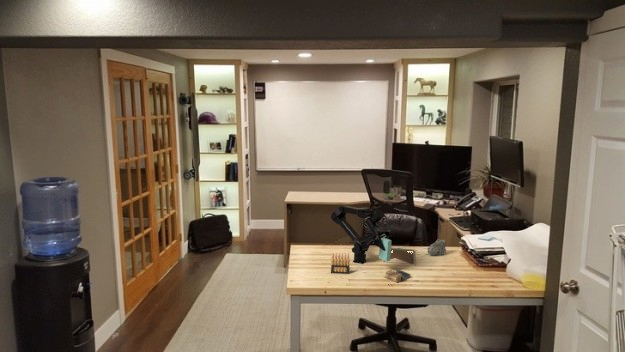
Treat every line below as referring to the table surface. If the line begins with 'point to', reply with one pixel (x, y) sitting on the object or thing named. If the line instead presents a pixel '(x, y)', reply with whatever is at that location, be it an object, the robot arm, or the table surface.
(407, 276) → the rack
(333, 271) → the ammunition clip
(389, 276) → the offcut middle
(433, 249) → the mineral rock
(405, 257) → the picture frame
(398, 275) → the offcut top
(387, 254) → the teal rectangular block
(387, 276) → the offcut bottom
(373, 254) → the table surface
